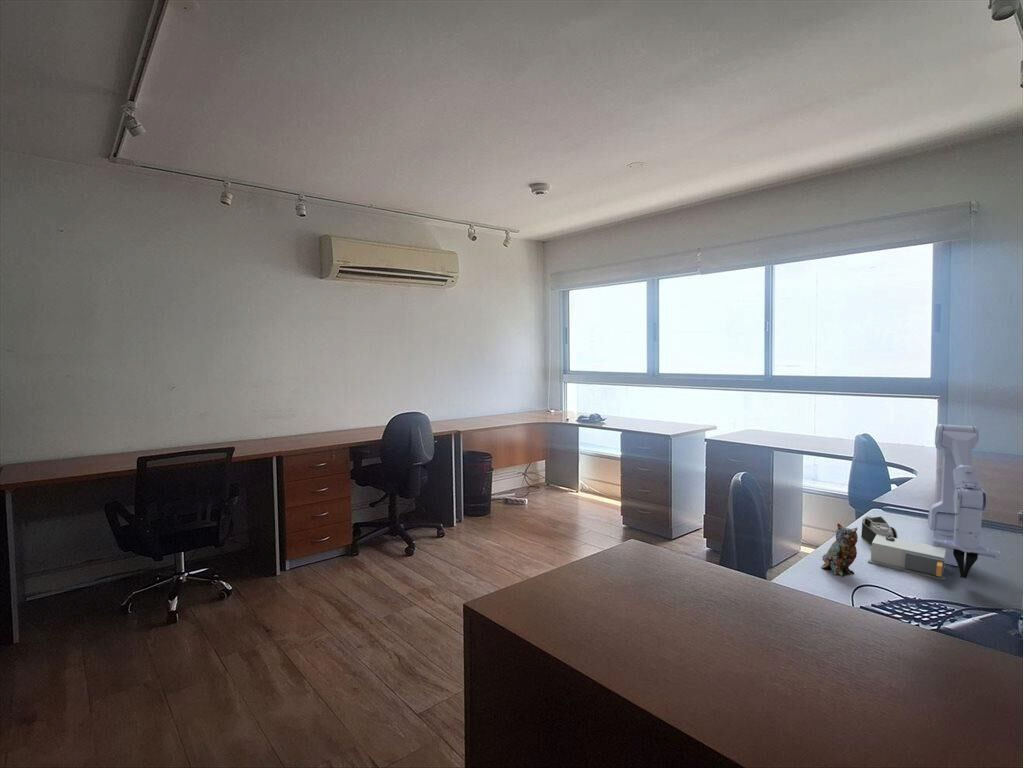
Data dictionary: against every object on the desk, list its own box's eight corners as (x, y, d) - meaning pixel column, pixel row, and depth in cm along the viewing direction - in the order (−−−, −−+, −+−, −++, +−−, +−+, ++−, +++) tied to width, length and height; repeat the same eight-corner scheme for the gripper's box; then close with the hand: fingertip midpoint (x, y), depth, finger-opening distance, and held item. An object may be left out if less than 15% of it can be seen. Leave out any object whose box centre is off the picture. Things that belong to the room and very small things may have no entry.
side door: (905, 566, 166) (906, 551, 166) (943, 575, 160) (944, 560, 160) (903, 571, 163) (904, 556, 162) (942, 581, 157) (943, 565, 156)
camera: (906, 556, 177) (908, 526, 176) (877, 553, 179) (879, 524, 178) (884, 539, 193) (886, 511, 192) (857, 536, 194) (859, 509, 194)
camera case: (873, 551, 180) (874, 532, 180) (946, 567, 168) (948, 547, 168) (867, 562, 171) (869, 542, 171) (944, 580, 159) (946, 558, 158)
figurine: (844, 565, 169) (847, 518, 168) (862, 578, 160) (865, 528, 159) (816, 565, 169) (819, 518, 168) (833, 577, 160) (836, 528, 159)
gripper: (933, 528, 155) (930, 574, 156) (1002, 540, 146) (997, 589, 147) (935, 522, 160) (932, 566, 162) (1001, 533, 151) (997, 580, 152)
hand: (963, 576), depth 155 cm, fingers closed
